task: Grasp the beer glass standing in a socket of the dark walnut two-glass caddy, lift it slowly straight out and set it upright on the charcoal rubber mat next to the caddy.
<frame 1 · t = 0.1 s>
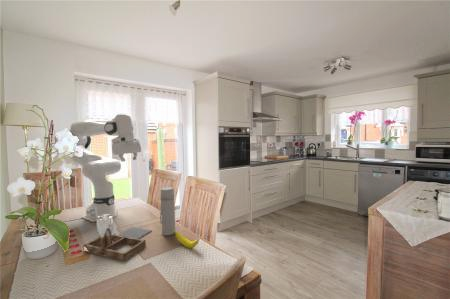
hand: (129, 160, 134), 39 cm above the table, tool pointing down, fingers open, 8 cm apart
charcoal mat: (133, 234, 117), on the table
water bottle: (167, 233, 117), on the table
beer glass: (106, 247, 104), resting in glass caddy
glass caddy: (115, 248, 102), on the table
banana: (186, 246, 103), on the table
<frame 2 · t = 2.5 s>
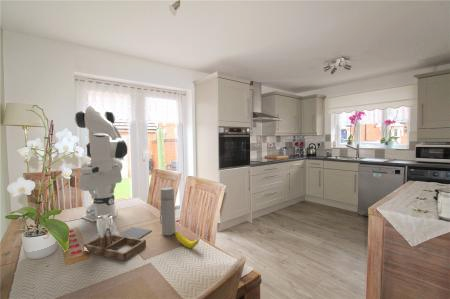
hand: (103, 195, 102), 25 cm above the table, tool pointing down, fingers open, 8 cm apart
nothing on the table moved.
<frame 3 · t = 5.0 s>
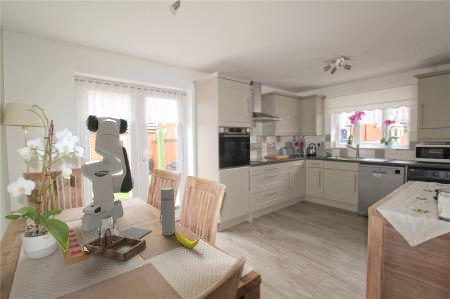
hand: (105, 232, 103), 7 cm above the table, tool pointing down, fingers closed on beer glass, 7 cm apart
beer glass: (106, 247, 104), resting in glass caddy, touching gripper
everything else where it was.
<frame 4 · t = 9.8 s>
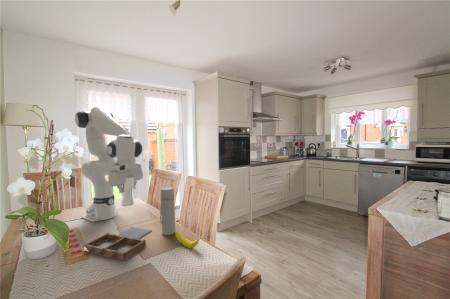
hand: (127, 190, 113), 25 cm above the table, tool pointing down, fingers closed on beer glass, 6 cm apart
beer glass: (127, 205, 113), point 17 cm above the table, touching gripper
everything else where it was.
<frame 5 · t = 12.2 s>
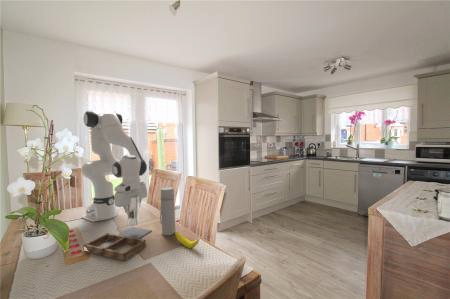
hand: (132, 209, 116), 14 cm above the table, tool pointing down, fingers closed on beer glass, 6 cm apart
beer glass: (133, 224, 116), point 6 cm above the table, touching gripper
everything else where it was.
when the fingers open (10 cm above the table, at t = 14.1 s): beer glass moves 1 cm, resting on charcoal mat.
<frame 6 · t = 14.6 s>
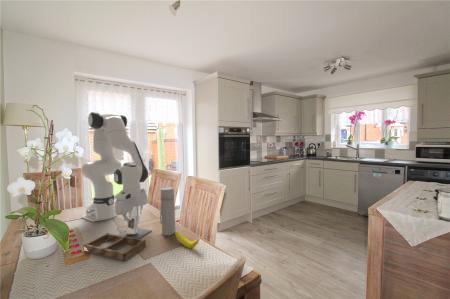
hand: (133, 217, 116), 10 cm above the table, tool pointing down, fingers open, 8 cm apart
beer glass: (131, 233, 115), point 1 cm above the table, touching charcoal mat, gripper
everything else where it was.
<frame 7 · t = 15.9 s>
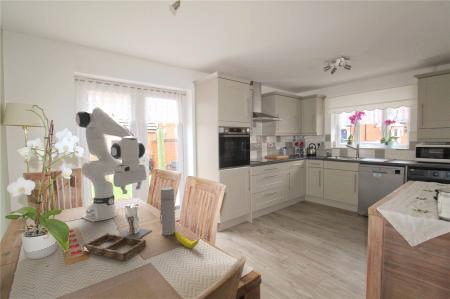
hand: (131, 191, 115), 24 cm above the table, tool pointing down, fingers open, 8 cm apart
beer glass: (133, 232, 117), resting on charcoal mat
everything else where it was.
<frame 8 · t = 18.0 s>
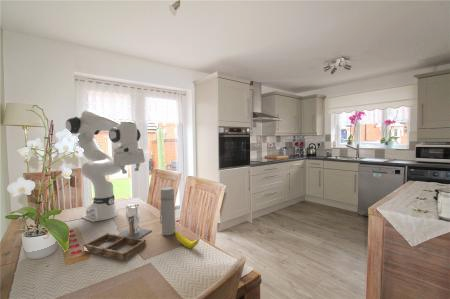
hand: (130, 172, 124), 33 cm above the table, tool pointing down, fingers open, 8 cm apart
nothing on the table moved.
at the end: beer glass inside the target area on the charcoal mat (0.8 cm from its centre), point 0.4 cm above the charcoal mat's base; beer glass tilted 0°; the gripper is holding nothing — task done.
